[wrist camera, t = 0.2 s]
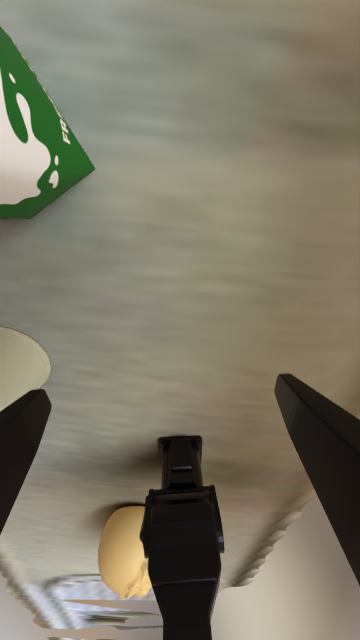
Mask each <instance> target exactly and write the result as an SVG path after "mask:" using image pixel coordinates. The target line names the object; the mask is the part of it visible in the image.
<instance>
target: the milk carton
mask: <svg viewBox="0 0 360 640" xmlns="http://www.w3.org/2000/svg"><path fill="white" fill-rule="evenodd" d="M93 170H95V167H94V166H93V164H92V163H91V161H90V160H89V158H88V156H87V155H86V153H85V152H84V150H83V149H82V147H81V145H80V144H79V142H78V141H77V139H76V137H75V136H74V134H73V133H72V131H71V130H70V128H69V126H68V125H67V123H66V122H65V120H64V118H63V117H62V115H61V114H60V112H59V110H58V109H57V107H56V106H55V104H54V102H53V101H52V99H51V98H50V96H49V95H48V93H47V91H46V90H45V88H44V87H43V85H42V84H41V82H40V81H39V79H38V77H37V76H36V74H35V73H34V71H33V70H32V68H31V66H30V65H29V63H28V62H27V60H26V59H25V57H24V56H23V54H22V53H21V51H20V50H19V49H18V47H17V46H16V44H15V43H14V42H13V40H12V39H11V38H10V37H9V36H8V35H7V34H6V33H5V31H4V30H3V29H2V28H1V27H0V219H7V218H28V219H31V218H32V217H33V216H35V215H36V214H37V213H39V212H40V211H41V210H42V209H44V208H45V207H46V206H48V205H49V204H50V203H52V202H53V201H54V200H56V199H57V198H58V197H59V196H61V195H62V194H63V193H65V192H66V191H67V190H69V189H70V188H71V187H72V186H74V185H75V184H76V183H78V182H79V181H80V180H82V179H83V178H84V177H86V176H87V175H88V174H89V173H91V172H92V171H93Z"/></svg>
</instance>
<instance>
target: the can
mask: <svg viewBox="0 0 360 640" xmlns="http://www.w3.org/2000/svg"><path fill="white" fill-rule="evenodd" d="M50 371H51V365H50V361H49V358H48V356H47V354H46V352H45V351H44V350H43V348H42V347H41V346H40V345H39V344H38V343H37V342H35V341H34V340H33V339H31V338H30V337H28V336H27V335H25V334H23V333H21V332H18V331H16V330H13V329H9V328H5V327H0V411H1V410H3V409H4V408H6V407H7V406H9V405H10V404H11V403H13V402H14V401H16V400H17V399H19V398H20V397H21V396H23V395H24V394H26V393H27V392H29V391H30V390H33V389H39V388H40V387H41V386H42V385H43V384H44V383H45V382H46V381H47V379H48V377H49V375H50Z"/></svg>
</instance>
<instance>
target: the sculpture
mask: <svg viewBox="0 0 360 640" xmlns="http://www.w3.org/2000/svg"><path fill="white" fill-rule="evenodd" d="M144 511H145V506H129V507H123V508H120V509H118V510H116V511H115V512H114V513H113V514H112V515H111V517H110V518H109V520H108V521H107V523H106V525H105V527H104V530H103V532H102V535H101V539H100V543H99V550H98V565H99V571H100V574H101V577H102V579H103V581H104V583H105V584H106V585H107V586H108V587H109V588H110V589H111V590H112V591H114V592H116V593H118V594H119V598H120V599H123V598H130V597H131V596H132V595H136V596H137V597H141V596H142V597H144V596H145V595H146V594H147V592H148V591H149V589H150V587H152V585H151V582H150V578H149V575H148V558H147V559H145V557H144V549H143V543H142V542H141V541H140V530H141V525H142V521H143V517H144Z"/></svg>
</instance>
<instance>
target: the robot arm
mask: <svg viewBox="0 0 360 640" xmlns="http://www.w3.org/2000/svg"><path fill="white" fill-rule="evenodd" d="M275 396H276V399H277V402H278V405H279V408H280V410H281V413H282V416H283V419H284V422H285V425H286V428H287V430H288V433H289V435H290V438H291V440H292V442H293V444H294V446H295V448H296V451H297V453H298V455H299V457H300V459H301V461H302V463H303V466H304V468H305V470H306V472H307V474H308V476H309V478H310V480H311V483H312V485H313V487H314V489H315V491H316V493H317V495H318V498H319V500H320V502H321V504H322V506H323V508H324V510H325V512H326V515H327V517H328V519H329V521H330V523H331V525H332V527H333V530H334V532H335V534H336V536H337V538H338V540H339V542H340V545H341V547H342V549H343V551H344V553H345V555H346V557H347V560H348V562H349V564H350V566H351V568H352V570H353V572H354V575H355V577H356V579H357V581H358V583H359V585H360V420H359V419H358V418H356V417H355V416H353V415H352V414H350V413H349V412H347V411H346V410H344V409H343V408H341V407H340V406H338V405H337V404H335V403H334V402H332V401H331V400H329V399H328V398H326V397H325V396H323V395H322V394H320V393H319V392H317V391H316V390H314V389H313V388H311V387H310V386H308V385H307V384H305V383H304V382H302V381H301V380H299V379H297V378H296V377H294V376H293V375H291V374H289V373H287V374H279V375H278V377H277V381H276V385H275ZM50 411H51V402H50V400H49V398H48V396H47V394H46V392H45V390H43V389H33V390H30V391H29V392H27V393H26V394H24V395H23V396H21V397H20V398H19V399H17V400H16V401H14V402H13V403H11V404H10V405H9V406H7V407H6V408H4V409H3V410H1V411H0V534H1V532H2V530H3V528H4V525H5V523H6V521H7V518H8V516H9V514H10V512H11V509H12V507H13V505H14V503H15V500H16V498H17V496H18V493H19V491H20V489H21V487H22V484H23V482H24V480H25V478H26V475H27V473H28V471H29V469H30V466H31V464H32V462H33V459H34V457H35V455H36V452H37V450H38V447H39V444H40V441H41V438H42V435H43V432H44V429H45V426H46V423H47V420H48V417H49V414H50ZM159 450H160V460H161V465H162V484H161V489H159V490H154V489H149V495H148V496H147V497H146V501H145V511H144V517H143V521H142V525H141V530H140V541H141V542H142V543H143V549H144V557H145V559H147V558H148V575H149V578H150V582H151V585H152V588H153V591H154V594H155V597H156V600H157V603H158V605H159V608H160V612H161V615H162V618H163V640H212V636H211V625H210V621H211V617H212V613H213V608H214V604H215V600H216V596H217V592H218V588H219V583H220V574H221V560H220V553H224V538H223V530H222V523H221V517H220V512H219V507H218V502H217V497H216V492H215V487H214V485H210V486H203V482H202V473H201V464H200V463H201V455H202V437H199V436H197V437H175V438H160V439H159Z"/></svg>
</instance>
